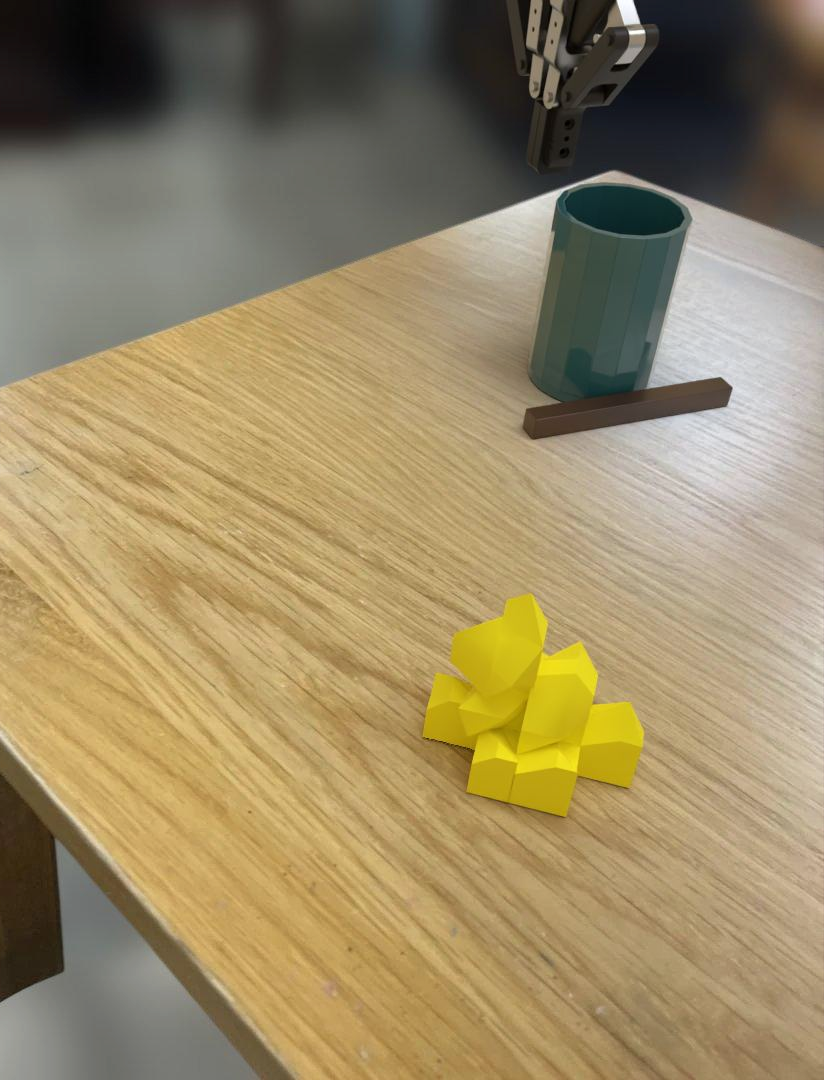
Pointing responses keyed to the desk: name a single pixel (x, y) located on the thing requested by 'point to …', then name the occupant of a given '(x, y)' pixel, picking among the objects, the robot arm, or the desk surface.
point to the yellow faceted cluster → (530, 714)
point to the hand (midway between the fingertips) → (547, 167)
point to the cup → (606, 289)
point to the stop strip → (626, 407)
